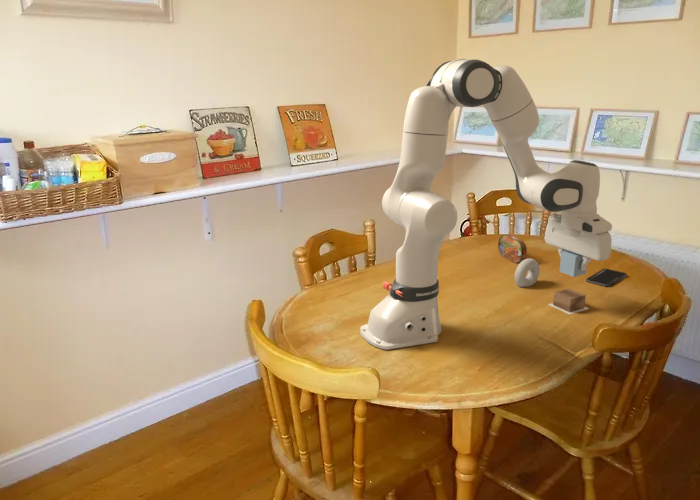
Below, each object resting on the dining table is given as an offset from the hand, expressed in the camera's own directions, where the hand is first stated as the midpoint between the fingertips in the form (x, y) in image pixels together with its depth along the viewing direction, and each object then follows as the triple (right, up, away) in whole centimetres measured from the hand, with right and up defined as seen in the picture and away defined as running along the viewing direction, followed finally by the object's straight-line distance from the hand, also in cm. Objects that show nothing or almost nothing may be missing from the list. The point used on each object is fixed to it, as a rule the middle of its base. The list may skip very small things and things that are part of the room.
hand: (573, 266), depth 157 cm
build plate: (0, -13, +4) cm, 14 cm away
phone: (+22, -5, +28) cm, 36 cm away
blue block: (0, -2, +1) cm, 2 cm away
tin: (-3, +1, +48) cm, 49 cm away
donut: (-7, -8, +21) cm, 24 cm away
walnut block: (0, -12, +4) cm, 12 cm away
